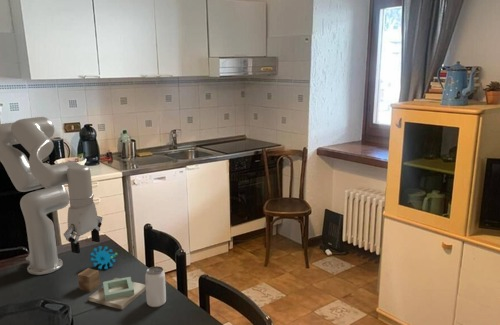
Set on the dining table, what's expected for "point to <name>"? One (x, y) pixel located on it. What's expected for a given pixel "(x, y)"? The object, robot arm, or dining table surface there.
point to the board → (118, 302)
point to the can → (155, 286)
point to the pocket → (118, 293)
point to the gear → (103, 257)
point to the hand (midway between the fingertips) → (86, 246)
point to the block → (89, 280)
